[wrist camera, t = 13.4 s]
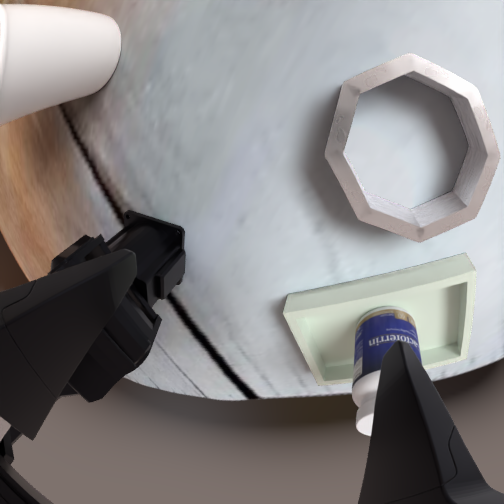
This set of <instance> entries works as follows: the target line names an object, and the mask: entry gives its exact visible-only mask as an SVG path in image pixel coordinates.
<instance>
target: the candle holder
mask: <svg viewBox="0 0 504 504" xmlns="http://www.w3.org/2000/svg"><path fill="white" fill-rule="evenodd" d="M120 52H121V33H120V29H119V27H118V25H117V23H116V22H115V21H114V20H113V19H112V18H111V17H109V16H107V15H104V14H101V13H96V12H91V11H86V10H80V9H74V8H66V7H58V6H48V5H32V4H0V126H3V125H5V124H7V123H10V122H12V121H14V120H17V119H19V118H22V117H24V116H27V115H29V114H32V113H35V112H38V111H40V110H43V109H46V108H49V107H52V106H55V105H58V104H61V103H65V102H68V101H71V100H75V99H78V98H82V97H85V96H88V95H91V94H93V93H95V92H97V91H98V90H100V89H101V88H102V87H103V86H104V85H105V84H106V83H107V82H108V80H109V79H110V78H111V76H112V74H113V72H114V71H115V68H116V66H117V63H118V60H119V57H120Z"/></svg>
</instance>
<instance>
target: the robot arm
mask: <svg viewBox="0 0 504 504" xmlns="http://www.w3.org/2000/svg"><path fill="white" fill-rule="evenodd" d="M129 216H130V217H129ZM124 226H125V228H124V229H122V230H121V231H120V232H118V233H117V234H116V235H115V236H113V237H112V238H111V239H110V240H108V241H107V242H106V243H105V242H104V238H103V237H102V235H101V234H100V235H99V236H98V237H96V238H95V239H94V237H92V238H91V237H89V236H87V235H84V236H83V237H82V238H80V239H79V240H78V241H76V242H75V243H74V244H72V245H71V246H70V247H68V248H67V249H66V250H64V251H63V252H62V253H60V254H59V255H58V256H56V257H55V258H54V259H53V260H52V263H51V271H50V272H49V273H48V275H47V276H44V277H41V278H39V279H37V280H33V281H31V282H28V283H25V284H23V285H20V286H17V287H14V288H11V289H8V290H5V291H1V292H0V504H53V503H52V502H51V501H49V500H48V499H47V498H46V497H45V496H43V495H42V494H41V493H40V492H38V491H37V490H36V489H35V488H34V487H33V486H32V485H30V484H29V483H28V482H27V481H26V480H25V479H24V478H23V477H22V476H21V475H20V474H19V473H18V472H17V471H16V470H15V469H14V468H13V467H12V466H11V463H12V462H13V460H14V456H13V450H12V445H13V443H15V442H16V440H18V439H19V438H20V437H21V436H22V435H23V434H24V435H25V436H26V437H28V438H29V439H31V440H34V438H35V437H36V435H37V433H38V431H39V429H40V427H41V426H42V424H43V422H44V420H45V419H46V417H47V415H48V414H49V412H50V410H51V408H52V407H53V405H54V403H55V402H56V401H57V400H58V399H59V398H61V397H66V396H73V395H81V396H82V397H83V398H84V399H85V400H86V401H87V402H93V401H96V400H99V399H102V398H103V397H104V396H105V395H106V394H107V392H108V391H109V390H110V389H111V388H112V387H113V386H114V384H116V383H117V381H119V380H120V379H121V378H122V377H124V376H125V375H126V374H128V373H130V372H132V371H133V370H135V369H136V368H138V367H139V366H140V365H141V364H142V363H143V362H144V360H145V359H146V358H147V356H148V355H149V353H150V350H151V348H152V345H153V342H154V339H155V337H156V334H157V331H158V329H159V326H160V324H161V321H162V319H161V318H160V316H159V315H158V314H156V313H155V312H154V310H153V309H152V306H153V305H154V304H155V303H156V301H157V300H158V299H161V300H163V299H165V298H166V296H167V295H168V294H169V292H170V291H171V290H172V289H173V287H174V286H175V285H179V284H181V282H182V280H183V274H184V273H185V251H184V237H185V231H184V229H183V228H182V227H181V226H178V225H175V224H171V223H168V222H165V221H162V220H159V219H156V218H153V217H149V216H146V215H143V214H140V213H137V212H134V211H130V210H128V211H126V212H125V213H124ZM177 231H179V232H180V234H179V233H178V232H177ZM358 504H504V494H503V493H500V492H498V491H496V490H494V489H493V488H491V487H490V486H489V485H488V484H487V483H486V481H485V480H484V478H483V476H482V474H481V473H480V471H479V469H478V467H477V465H476V464H475V462H474V460H473V458H472V456H471V455H470V453H469V451H468V449H467V447H466V446H465V444H464V442H463V440H462V438H461V436H460V434H459V432H458V430H457V428H456V426H455V425H454V422H453V420H452V418H451V416H450V414H449V412H448V410H447V409H446V407H445V405H444V403H443V401H442V399H441V397H440V396H439V394H438V392H437V390H436V388H435V387H434V385H433V383H432V381H431V379H430V378H429V376H428V374H427V372H426V371H425V369H424V367H423V366H422V364H421V362H420V361H419V359H418V357H417V356H416V354H415V352H414V351H413V349H412V347H411V346H410V344H409V343H408V342H405V341H401V340H397V341H395V343H394V344H393V345H392V346H391V347H390V349H389V350H388V351H387V352H386V354H385V355H384V357H383V360H382V366H381V372H380V377H379V383H378V388H377V393H376V399H375V406H374V416H373V424H372V432H371V439H370V446H369V452H368V458H367V463H366V469H365V474H364V479H363V484H362V488H361V493H360V497H359V501H358Z"/></svg>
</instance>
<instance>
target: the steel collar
mask: <svg viewBox="0 0 504 504" xmlns="http://www.w3.org/2000/svg"><path fill="white" fill-rule="evenodd" d="M402 75H405V76H407V77H410V78H412V79H414V80H416V81H419V82H421V83H423V84H425V85H427V86H429V87H431V88H433V89H435V90H437V91H439V92H441V93H443V94H445V95H447V96H449V97H450V99H451V101H452V103H453V106H454V108H455V110H456V113H457V115H458V117H459V120H460V122H461V125H462V127H463V130H464V133H465V136H466V138H467V141H468V144H469V148H468V151H467V154H466V156H465V159H464V162H463V165H462V167H461V170H460V173H459V175H458V178H457V180H456V183H455V185H454V188H453V190H452V191H451V192H448V193H446V194H444V195H442V196H440V197H437V198H435V199H433V200H431V201H428V202H426V203H424V204H421V205H419V206H417V207H415V208H412V209H409V208H407V207H404V206H402V205H399V204H397V203H394V202H392V201H389V200H387V199H384V198H381V197H379V196H376V195H373V194H371V193H368V192H366V191H365V189H364V187H363V185H362V183H361V181H360V179H359V177H358V175H357V173H356V171H355V169H354V167H353V165H352V163H351V161H350V160H349V158H348V156H347V154H346V152H345V150H344V149H345V145H346V142H347V138H348V135H349V131H350V128H351V124H352V121H353V117H354V114H355V110H356V106H357V102H358V99H359V95H360V94H362V93H364V92H366V91H368V90H370V89H372V88H374V87H377V86H379V85H381V84H383V83H386V82H388V81H390V80H392V79H395V78H397V77H399V76H402ZM324 156H325V158H326V159H327V161H328V163H329V165H330V167H331V168H332V170H333V172H334V174H335V176H336V177H337V179H338V181H339V183H340V185H341V187H342V189H343V190H344V192H345V194H346V196H347V198H348V200H349V202H350V204H351V206H352V208H353V210H354V212H355V214H356V216H357V218H358V219H359V220H360V221H363V222H365V223H368V224H371V225H374V226H377V227H379V228H382V229H385V230H387V231H390V232H393V233H395V234H398V235H401V236H403V237H406V238H409V239H411V240H414V241H416V242H423V241H425V240H427V239H430V238H432V237H434V236H437V235H439V234H441V233H443V232H446V231H448V230H450V229H453V228H455V227H457V226H459V225H461V224H464V223H466V222H468V221H470V220H472V219H475V217H476V216H477V214H478V212H479V210H480V208H481V206H482V203H483V201H484V199H485V196H486V194H487V192H488V189H489V187H490V184H491V182H492V179H493V177H494V174H495V171H496V169H497V166H498V163H499V160H500V152H499V149H498V145H497V142H496V139H495V135H494V132H493V129H492V126H491V123H490V120H489V117H488V115H487V112H486V109H485V107H484V104H483V102H482V99H481V97H480V94H479V92H478V90H477V88H476V87H475V86H473V85H472V84H470V83H468V82H467V81H465V80H463V79H462V78H460V77H458V76H456V75H455V74H453V73H451V72H449V71H447V70H445V69H444V68H442V67H440V66H438V65H436V64H434V63H432V62H430V61H428V60H425V59H423V58H421V57H419V56H417V55H414V54H412V53H408V54H405V55H403V56H400V57H398V58H396V59H393V60H391V61H388V62H386V63H384V64H381V65H379V66H377V67H375V68H372V69H370V70H368V71H366V72H363V73H361V74H359V75H357V76H355V77H353V78H351V79H349V80H347V81H345V82H344V83H343V84H342V87H341V91H340V95H339V99H338V103H337V107H336V111H335V115H334V118H333V122H332V126H331V130H330V133H329V137H328V140H327V144H326V148H325V154H324Z"/></svg>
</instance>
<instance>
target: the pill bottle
mask: <svg viewBox="0 0 504 504" xmlns="http://www.w3.org/2000/svg"><path fill="white" fill-rule="evenodd" d="M397 340H401V341H405V342H408V343H409V344H410V346H411V347H412V349H413V351H414V352H415V354H416V356H417V357H418V359H419V361H420V362H421V364H422V360H421V354H420V347H419V341H418V335H417V330H416V325H415V321H414V319H413V317H412V315H411V314H410V313H409V312H408V311H406V310H405V309H403V308H400V307H395V306H386V307H380V308H376V309H374V310H372V311H370V312H368V313H367V314H365V315H364V316H363V317H362V318H361V319H360V321H359V322H358V324H357V326H356V331H355V351H354V371H353V384H352V397H353V400H354V402H355V403H356V405H357V406H358V407H360V408H359V409H358V411H357V419H356V427H357V429H358V431H360V432H361V433H363V434H365V435H369V436H371V432H372V424H373V416H374V406H375V399H376V393H377V388H378V383H379V377H380V372H381V366H382V360H383V357H384V355H385V354H386V352H387V351H388V350H389V349H390V347H391V346H392V345H393V344H394V343H395V341H397Z"/></svg>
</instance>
